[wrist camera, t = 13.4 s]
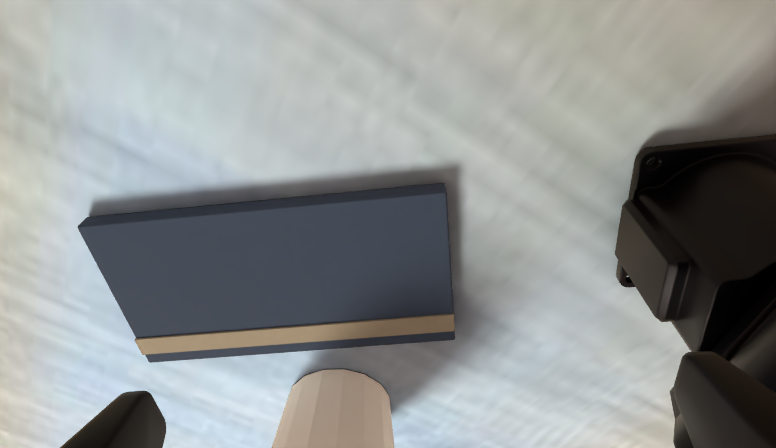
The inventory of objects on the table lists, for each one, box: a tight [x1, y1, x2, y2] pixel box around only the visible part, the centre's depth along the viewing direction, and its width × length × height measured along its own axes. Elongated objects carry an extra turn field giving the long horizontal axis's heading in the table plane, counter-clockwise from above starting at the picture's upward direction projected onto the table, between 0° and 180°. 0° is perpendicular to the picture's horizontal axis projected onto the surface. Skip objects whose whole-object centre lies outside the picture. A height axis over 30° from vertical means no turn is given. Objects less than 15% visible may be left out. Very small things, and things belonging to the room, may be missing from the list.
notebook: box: [78, 183, 455, 362], centre depth 22 cm, size 15×8×1 cm, turn 96°
